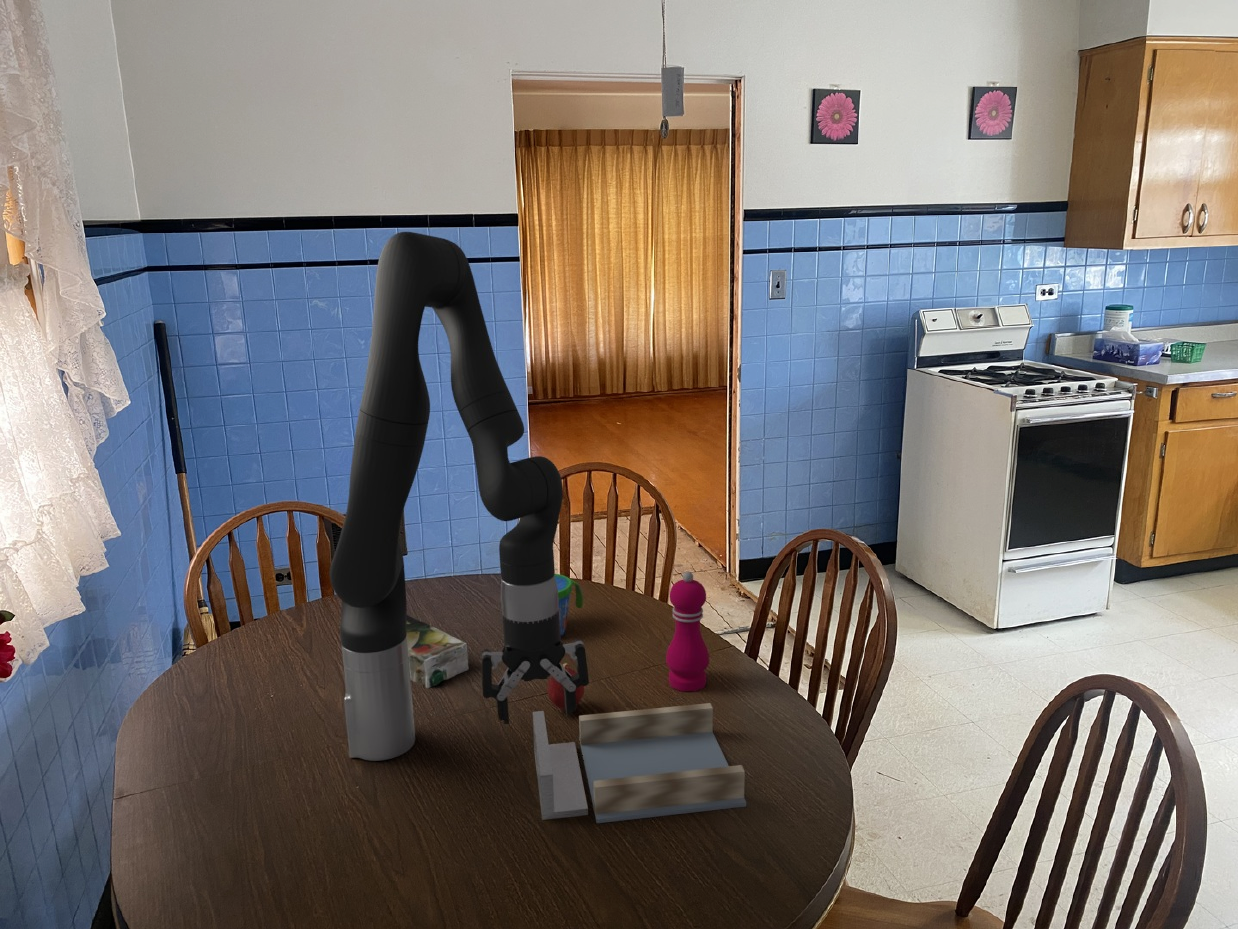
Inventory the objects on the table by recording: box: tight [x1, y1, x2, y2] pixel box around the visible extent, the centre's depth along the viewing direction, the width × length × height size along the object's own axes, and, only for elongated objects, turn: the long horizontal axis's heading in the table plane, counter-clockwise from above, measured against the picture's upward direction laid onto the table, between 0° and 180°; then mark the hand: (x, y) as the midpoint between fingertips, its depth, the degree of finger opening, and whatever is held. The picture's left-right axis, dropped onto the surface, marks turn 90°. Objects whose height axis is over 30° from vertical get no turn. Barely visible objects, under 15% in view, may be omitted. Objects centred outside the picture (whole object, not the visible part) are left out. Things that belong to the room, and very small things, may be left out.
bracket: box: [532, 710, 589, 821], centre depth 124 cm, size 16×6×7 cm, turn 9°
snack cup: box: [555, 573, 584, 636], centre depth 170 cm, size 16×10×10 cm
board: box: [578, 732, 747, 824], centre depth 127 cm, size 20×20×1 cm
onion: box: [547, 662, 585, 711], centre depth 143 cm, size 6×6×8 cm
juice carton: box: [406, 614, 470, 689], centre depth 160 cm, size 20×10×6 cm, turn 49°
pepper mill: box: [665, 571, 710, 693], centre depth 149 cm, size 7×7×20 cm
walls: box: [578, 702, 746, 815], centre depth 127 cm, size 20×18×4 cm
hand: (537, 717), depth 123 cm, fingers open, 8 cm apart
